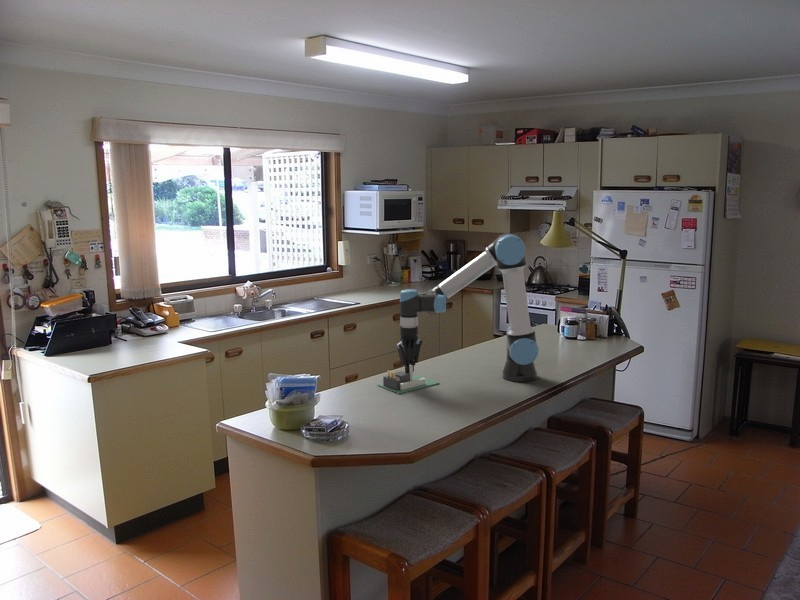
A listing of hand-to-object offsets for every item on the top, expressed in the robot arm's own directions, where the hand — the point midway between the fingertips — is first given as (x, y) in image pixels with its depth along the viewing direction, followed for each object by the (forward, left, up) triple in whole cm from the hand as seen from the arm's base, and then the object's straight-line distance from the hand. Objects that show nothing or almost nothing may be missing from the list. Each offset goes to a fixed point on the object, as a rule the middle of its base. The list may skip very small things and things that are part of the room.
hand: (409, 379), depth 288 cm
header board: (0, +1, -2) cm, 2 cm away
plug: (0, +4, -2) cm, 4 cm away
